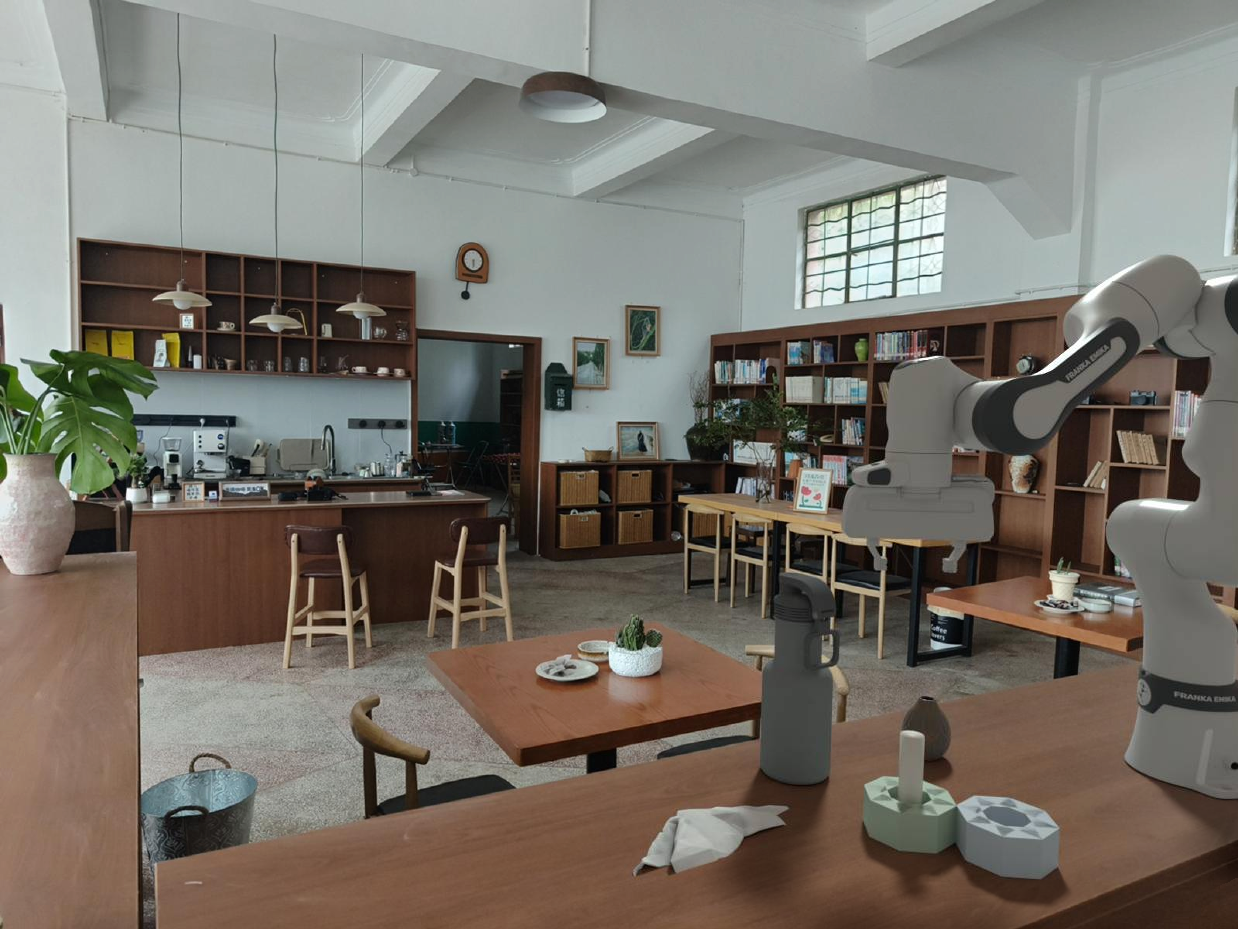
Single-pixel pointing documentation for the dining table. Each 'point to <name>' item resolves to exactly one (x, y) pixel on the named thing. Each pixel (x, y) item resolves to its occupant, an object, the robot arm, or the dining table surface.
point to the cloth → (707, 835)
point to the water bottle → (799, 684)
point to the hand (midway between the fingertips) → (914, 571)
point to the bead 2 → (1007, 837)
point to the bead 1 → (909, 817)
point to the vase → (929, 726)
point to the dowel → (911, 767)
